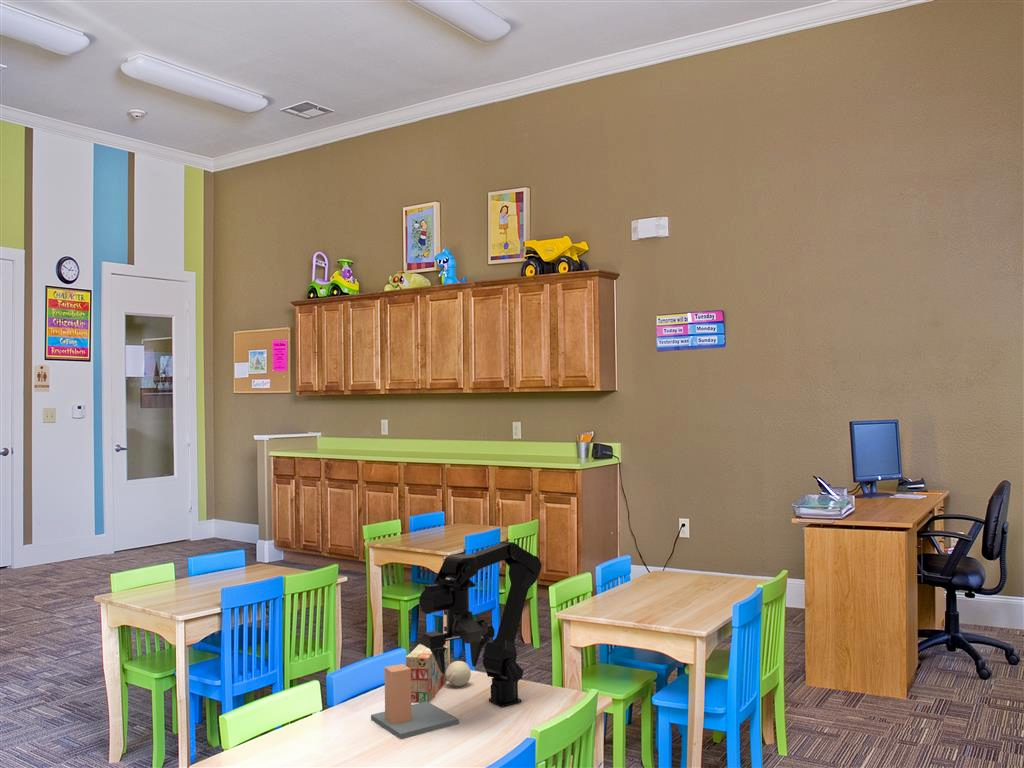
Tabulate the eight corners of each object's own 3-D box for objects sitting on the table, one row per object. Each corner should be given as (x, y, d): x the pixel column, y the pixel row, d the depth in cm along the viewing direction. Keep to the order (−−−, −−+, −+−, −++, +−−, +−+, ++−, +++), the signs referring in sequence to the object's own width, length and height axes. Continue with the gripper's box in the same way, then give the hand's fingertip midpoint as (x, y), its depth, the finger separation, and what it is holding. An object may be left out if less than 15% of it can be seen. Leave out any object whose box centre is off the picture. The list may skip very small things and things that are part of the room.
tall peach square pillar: (403, 714, 208) (403, 663, 209) (411, 720, 204) (410, 668, 204) (385, 718, 206) (384, 667, 206) (392, 724, 201) (391, 672, 202)
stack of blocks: (428, 677, 241) (428, 635, 242) (449, 678, 240) (448, 635, 241) (406, 702, 220) (405, 656, 221) (428, 703, 219) (428, 656, 220)
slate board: (426, 705, 217) (426, 701, 217) (458, 723, 204) (458, 718, 204) (371, 719, 208) (371, 714, 208) (400, 739, 195) (400, 733, 195)
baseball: (440, 685, 234) (440, 661, 234) (461, 680, 238) (461, 656, 239) (453, 691, 228) (453, 667, 229) (475, 686, 233) (475, 661, 233)
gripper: (441, 618, 197) (442, 685, 197) (506, 607, 208) (507, 670, 207) (419, 610, 206) (419, 673, 206) (482, 599, 217) (483, 660, 216)
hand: (458, 669), depth 208 cm, fingers open, 9 cm apart
